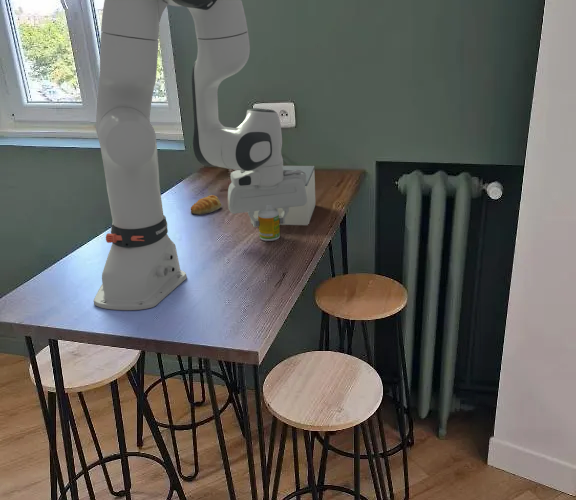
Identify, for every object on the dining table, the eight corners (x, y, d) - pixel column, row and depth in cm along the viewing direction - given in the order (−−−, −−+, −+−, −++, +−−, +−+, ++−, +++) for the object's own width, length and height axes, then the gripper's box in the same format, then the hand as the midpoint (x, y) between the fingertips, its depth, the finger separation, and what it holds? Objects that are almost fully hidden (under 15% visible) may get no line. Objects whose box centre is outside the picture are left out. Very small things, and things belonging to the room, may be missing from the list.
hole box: (308, 225, 164) (307, 183, 159) (251, 224, 167) (248, 182, 162) (315, 205, 178) (314, 165, 174) (262, 204, 181) (260, 165, 176)
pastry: (201, 217, 173) (200, 205, 172) (185, 213, 177) (183, 201, 176) (223, 208, 180) (222, 196, 179) (207, 204, 184) (206, 192, 182)
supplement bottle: (277, 241, 155) (275, 206, 151) (257, 241, 156) (254, 205, 152) (281, 233, 159) (280, 199, 155) (262, 233, 160) (259, 198, 156)
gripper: (303, 165, 155) (304, 215, 161) (224, 173, 151) (228, 224, 157) (309, 172, 149) (310, 224, 155) (227, 181, 146) (232, 233, 151)
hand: (269, 224), depth 156 cm, fingers closed on supplement bottle, 5 cm apart
